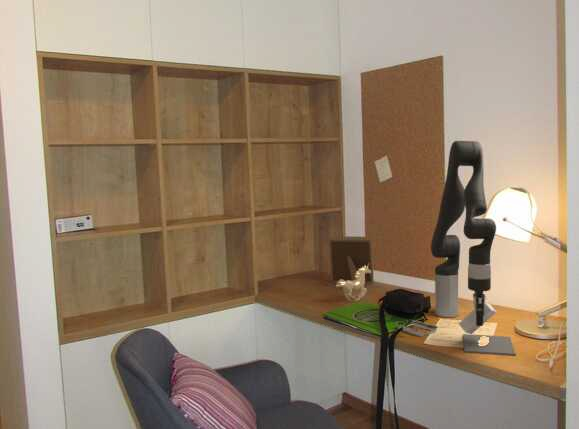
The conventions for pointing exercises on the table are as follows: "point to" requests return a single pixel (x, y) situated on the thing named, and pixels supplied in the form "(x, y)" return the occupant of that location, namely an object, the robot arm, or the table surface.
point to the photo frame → (350, 257)
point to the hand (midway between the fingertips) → (478, 322)
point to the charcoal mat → (488, 345)
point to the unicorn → (355, 283)
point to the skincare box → (470, 321)
